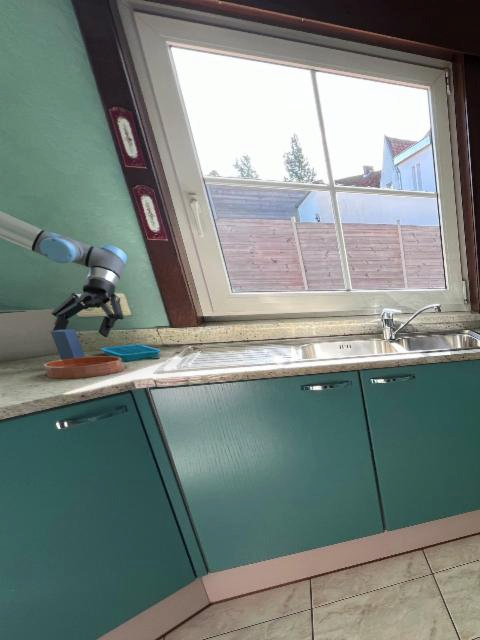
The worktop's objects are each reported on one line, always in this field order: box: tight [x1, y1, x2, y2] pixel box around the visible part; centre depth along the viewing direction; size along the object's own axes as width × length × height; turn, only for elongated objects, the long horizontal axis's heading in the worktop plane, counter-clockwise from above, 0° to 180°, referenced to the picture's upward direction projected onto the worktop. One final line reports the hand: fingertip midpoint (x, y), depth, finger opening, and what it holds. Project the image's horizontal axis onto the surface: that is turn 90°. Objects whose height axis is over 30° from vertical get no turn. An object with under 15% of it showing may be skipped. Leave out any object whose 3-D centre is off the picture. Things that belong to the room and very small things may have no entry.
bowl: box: [42, 355, 126, 380], centre depth 153 cm, size 17×17×4 cm
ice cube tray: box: [99, 344, 162, 362], centre depth 177 cm, size 12×20×3 cm, turn 59°
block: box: [50, 329, 86, 360], centre depth 160 cm, size 4×4×12 cm
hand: (80, 334), depth 164 cm, fingers open, 13 cm apart
